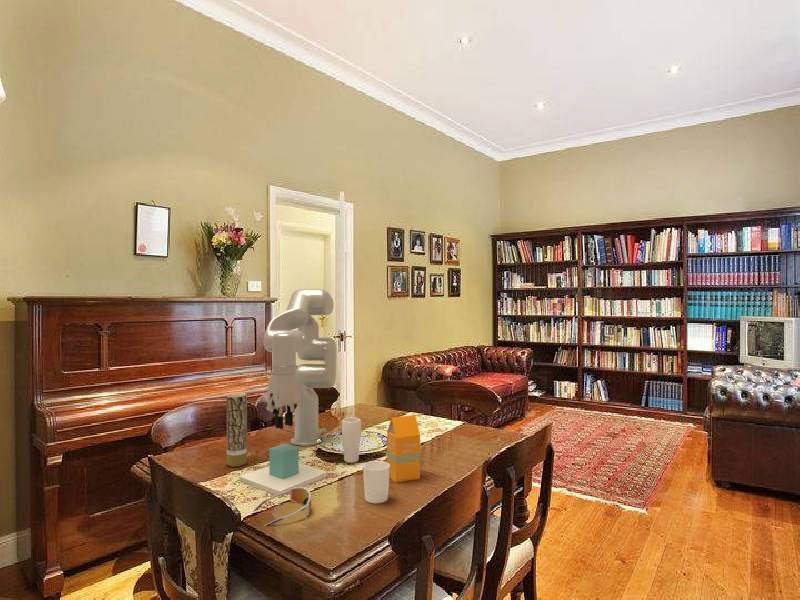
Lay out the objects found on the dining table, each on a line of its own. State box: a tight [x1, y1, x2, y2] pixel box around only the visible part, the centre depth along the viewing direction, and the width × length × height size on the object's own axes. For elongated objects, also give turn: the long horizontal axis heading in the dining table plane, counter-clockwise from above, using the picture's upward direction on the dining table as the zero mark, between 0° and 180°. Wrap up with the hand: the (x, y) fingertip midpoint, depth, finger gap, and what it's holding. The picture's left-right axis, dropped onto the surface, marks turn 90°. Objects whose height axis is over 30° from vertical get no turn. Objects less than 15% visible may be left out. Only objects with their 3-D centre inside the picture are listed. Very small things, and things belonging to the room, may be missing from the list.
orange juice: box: [386, 414, 421, 483], centre depth 163 cm, size 8×9×20 cm
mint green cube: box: [268, 443, 300, 479], centre depth 160 cm, size 7×7×9 cm
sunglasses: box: [252, 486, 312, 527], centre depth 136 cm, size 14×15×5 cm
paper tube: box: [226, 391, 248, 468], centre depth 174 cm, size 7×7×25 cm
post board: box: [238, 463, 329, 497], centre depth 160 cm, size 20×20×2 cm
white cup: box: [362, 460, 390, 504], centre depth 145 cm, size 8×8×10 cm
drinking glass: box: [341, 416, 362, 464], centre depth 178 cm, size 7×7×15 cm
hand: (284, 426), depth 160 cm, fingers open, 3 cm apart
